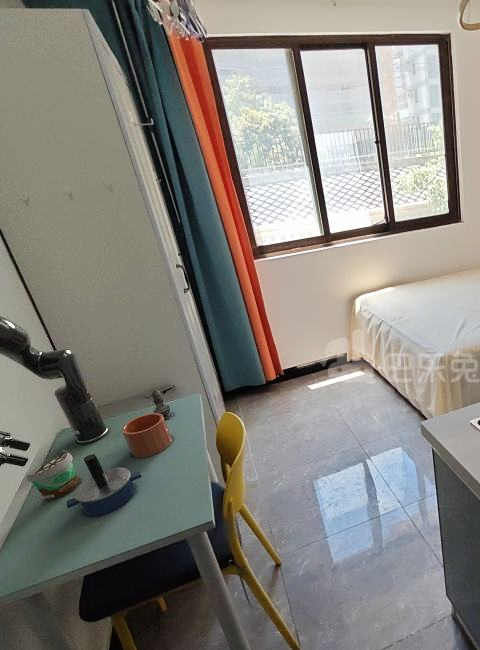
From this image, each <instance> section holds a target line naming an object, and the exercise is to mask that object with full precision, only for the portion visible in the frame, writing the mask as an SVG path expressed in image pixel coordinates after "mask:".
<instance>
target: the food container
mask: <svg viewBox="0 0 480 650" xmlns="http://www.w3.org/2000/svg"><path fill="white" fill-rule="evenodd" d="M26 476H27V477H26V479H27V482H28V483H32V484H33V486H34V488H35V489H37V491H38V492H39V494H41V496H42V498H44V500H45V501H52V500H55V499H58V498H62V497H64V496H65V495H68V494H70V493H71V492H72V491H74V490H75V489H77V488H78V486H79V483H80V481H79V478H78V475H77V473H76V470H75V467H74V465H73V455H72V454H71V453H70V452H68V451H67V450H65V449H61V453H60V454H59V455H58V456H56V457H55V458H53V459H51V460H49V461H47V462H46V463H44V464H43V465H42V466H41V467H40V468H39V469H38V470H36V471H35V472H34V473H32V474H26Z"/></svg>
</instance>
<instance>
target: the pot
mask: <svg viewBox="0 0 480 650" xmlns="http://www.w3.org/2000/svg"><path fill="white" fill-rule="evenodd" d="M121 432H122V435H123V437H124V439H125V441H126V444H127V446H128V448H129V450H130V453H131V455H132V456H133V457H134V458H135V457H136V458H147V457H151V456H154V455H157V454H158V453H160V452H162V451H164V450H166V448H168V447H169V446H170V445H171V443H172V441H173V437H172V435H171V432H170V429H169V427H168V425H167V422H166V420H164V417H163V415H162V414H159V413H154V412H151V413H146V414H142V415H139V416H136V417H135V418H133V419H131V420H129V421H128V422H127V423H125V424H124V425H123V427H122V428H121Z"/></svg>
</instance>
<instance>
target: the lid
mask: <svg viewBox="0 0 480 650" xmlns="http://www.w3.org/2000/svg"><path fill="white" fill-rule="evenodd" d="M83 462H84V464H85V466H86V468H87V469H88V472H89V474H90V476H89V478H87V479H86V480H84V481H83V482H81V484H79V485H78V486H77V487H76V488H75V489H76V490H75V491H74V494H73V498H75V499H76V500H77V501H78V502H81V503H90V502H95V501H99V500H102V499H104V498H106V497H109V496H111V495H112V494H114V493H116V492H117V491H119V490H120V489H121V488H123V487H124V486H125V485H126V484H127V483H128V481H129V480H130V477H131V474H132V473H131V472H130V470H129V469H128V468H126V467H113V468H109V469H105V470H104V469H103V467H102V465H101V463H100V461H99V459H98V457H97V455H96V453H91V454H89V455H86V456H84V458H83Z"/></svg>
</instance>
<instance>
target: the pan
mask: <svg viewBox="0 0 480 650" xmlns="http://www.w3.org/2000/svg"><path fill="white" fill-rule="evenodd" d="M141 478H142V473H141V471H140V470H137V471H135V472H133V473H131V477H130V480H129V481H128V483H127V484H126V485H125V486H124V487H123V488H121V489H120V490H119V491H117V492H116V493H114V494H112V495H111V496H109V497H106V498H104V499H102V500H99V501H95V502H90V503H81V502H78V501H77V500H76V499H75V497H73V498H71V499H68V500H66V508H67V509H70V508H72V507H75V506H78V505H80V507H81V508H82V510H83V512H85V514H86V515H88V516H91V517H97V516H98V517H99V516H102V515H107V514H109V513H111V512H112V513H113V512H114V511H116V510H118V509H119V508H121V507H123V506H124V505H126V504H127V503H128V502H129V501H130V500H131V499H132V498H133V497H134V495H135V494H136V487H135V484H134V481H136V480H138V479H141Z"/></svg>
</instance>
